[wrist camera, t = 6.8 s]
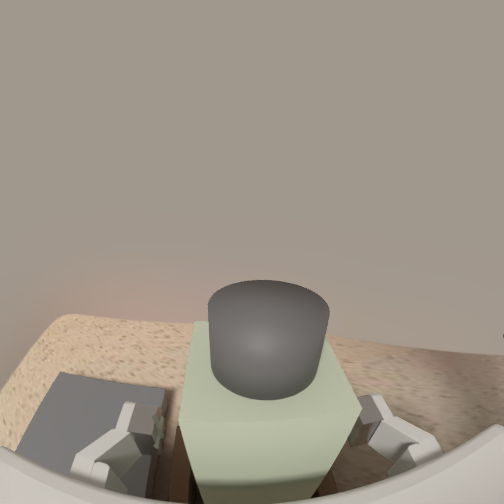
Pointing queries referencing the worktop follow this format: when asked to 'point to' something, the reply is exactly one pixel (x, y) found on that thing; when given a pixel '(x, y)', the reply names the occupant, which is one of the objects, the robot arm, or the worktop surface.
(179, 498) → the walnut pocket
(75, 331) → the worktop surface
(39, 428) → the slate board
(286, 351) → the spice grinder
